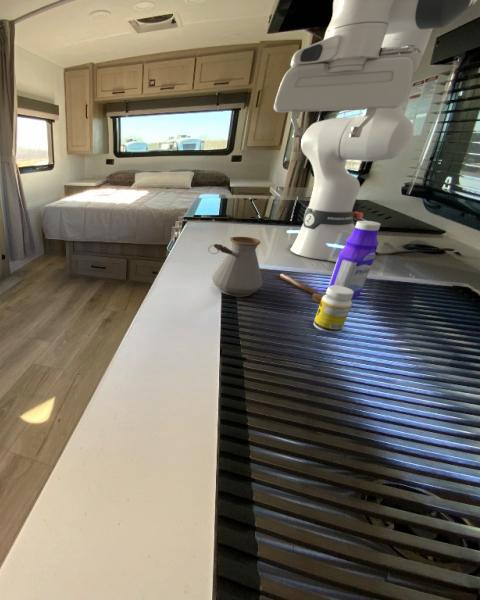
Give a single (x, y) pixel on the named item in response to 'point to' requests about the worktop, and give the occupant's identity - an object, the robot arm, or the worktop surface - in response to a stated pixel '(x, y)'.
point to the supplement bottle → (333, 309)
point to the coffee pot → (238, 268)
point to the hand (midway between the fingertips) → (324, 137)
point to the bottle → (356, 257)
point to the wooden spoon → (304, 288)
